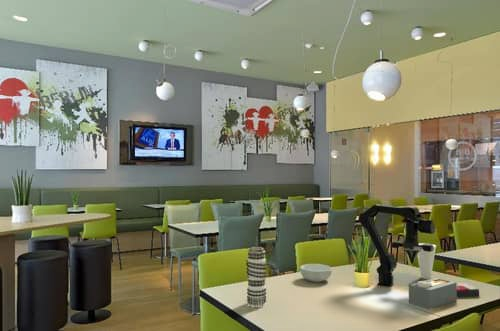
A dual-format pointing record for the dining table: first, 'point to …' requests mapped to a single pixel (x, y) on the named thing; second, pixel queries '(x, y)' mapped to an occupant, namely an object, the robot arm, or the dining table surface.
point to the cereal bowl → (316, 272)
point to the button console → (433, 293)
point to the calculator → (466, 290)
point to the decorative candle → (256, 277)
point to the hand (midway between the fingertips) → (412, 263)
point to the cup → (426, 262)
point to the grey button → (423, 284)
